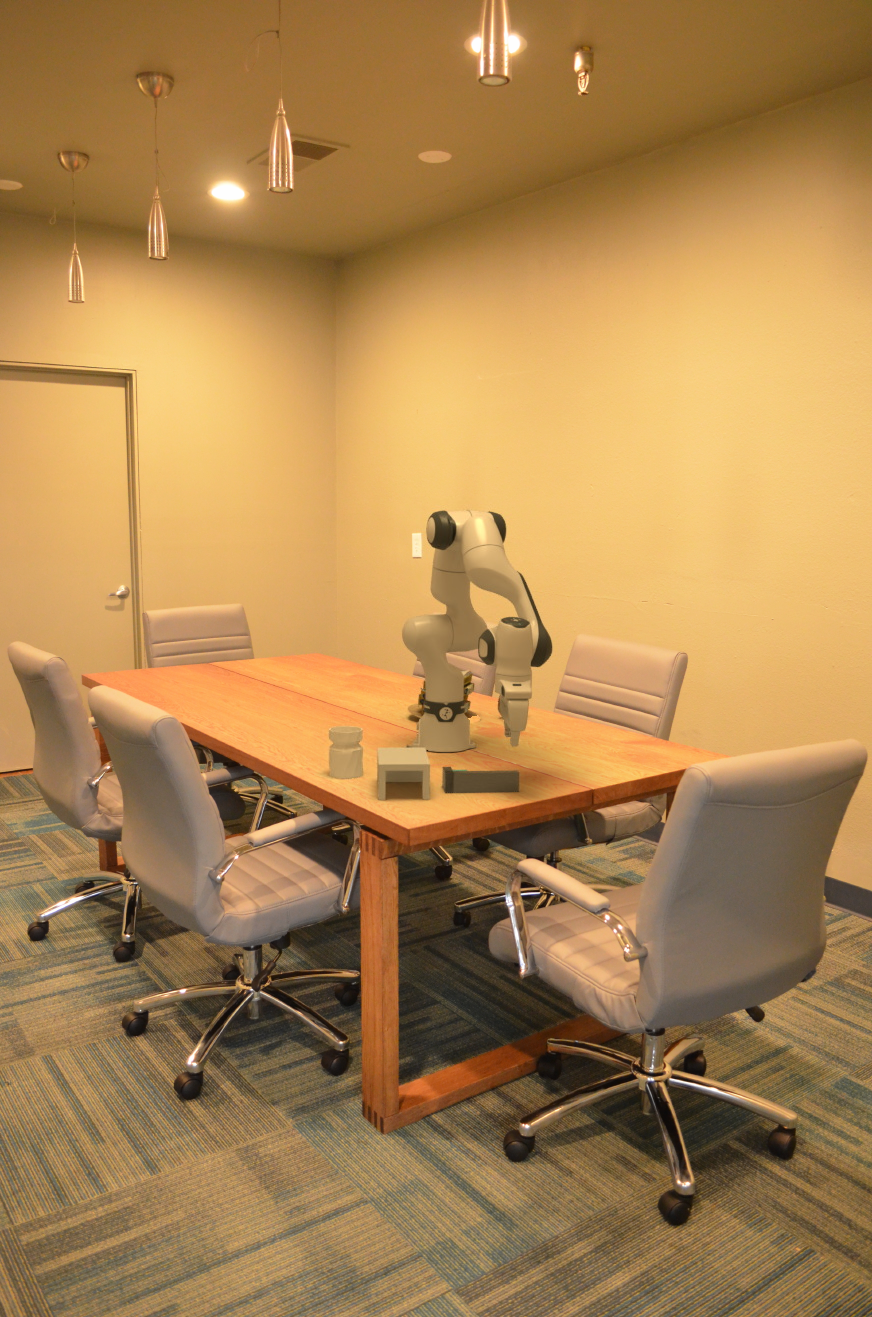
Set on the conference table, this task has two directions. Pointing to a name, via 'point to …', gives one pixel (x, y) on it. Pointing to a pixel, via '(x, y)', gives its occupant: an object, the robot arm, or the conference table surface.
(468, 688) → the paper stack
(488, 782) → the dark grey long block
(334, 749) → the pale lidded jar
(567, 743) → the conference table surface
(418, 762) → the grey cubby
